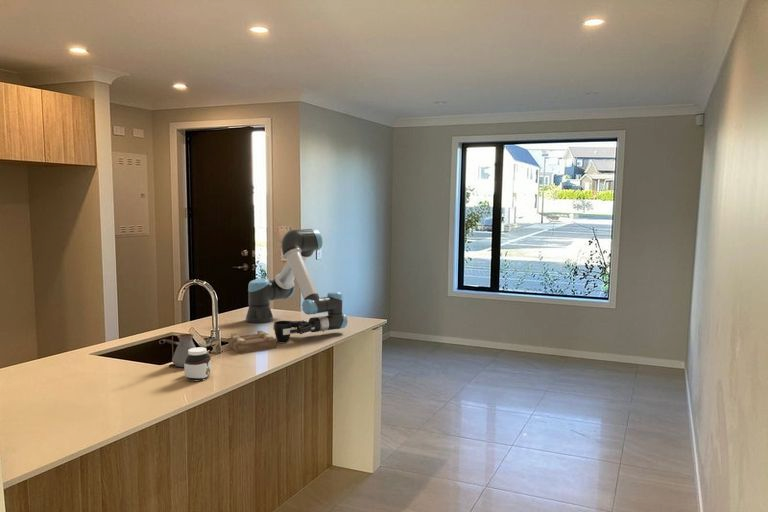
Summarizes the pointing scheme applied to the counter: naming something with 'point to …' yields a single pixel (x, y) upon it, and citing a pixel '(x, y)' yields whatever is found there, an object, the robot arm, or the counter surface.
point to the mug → (279, 330)
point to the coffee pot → (181, 348)
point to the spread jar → (197, 364)
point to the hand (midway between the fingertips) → (278, 329)
